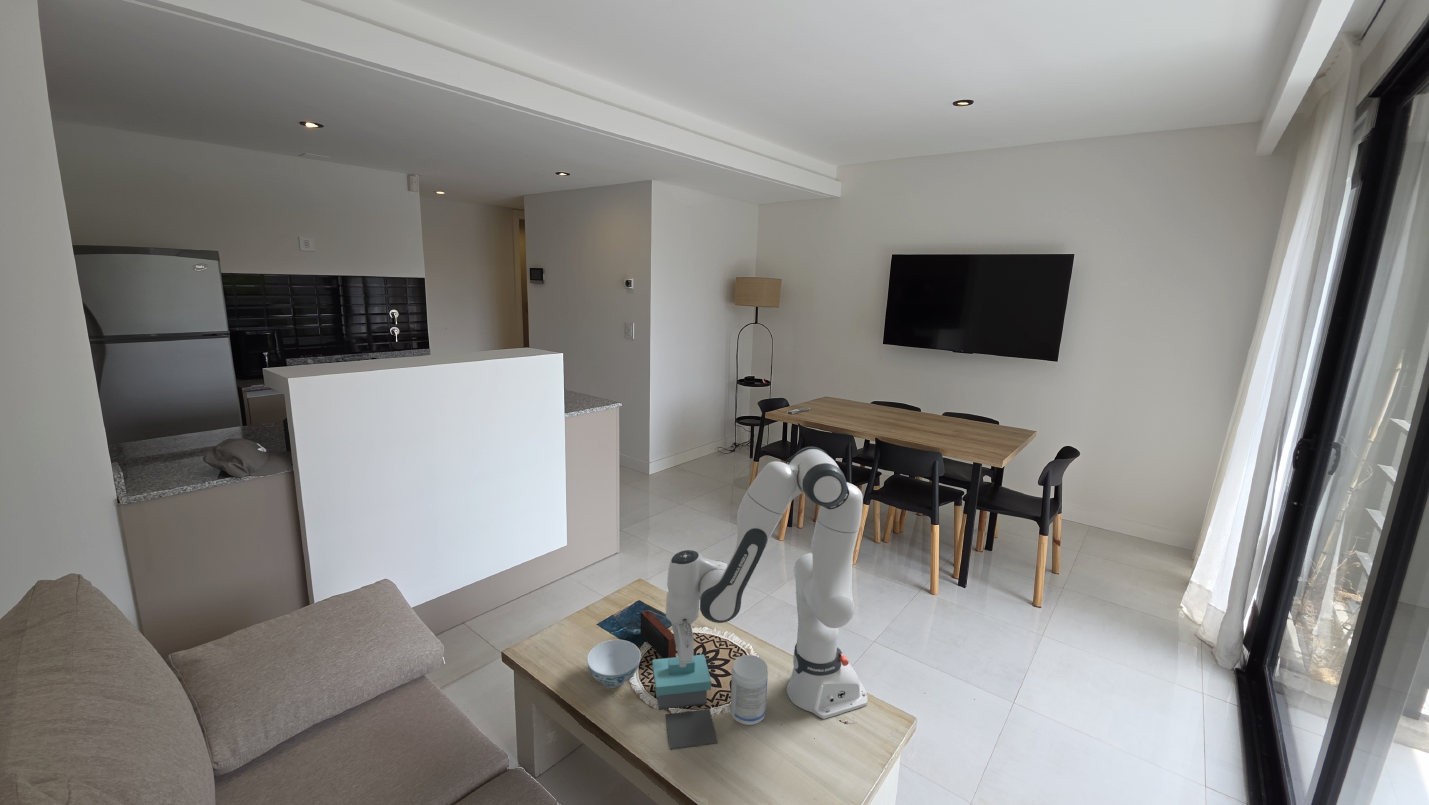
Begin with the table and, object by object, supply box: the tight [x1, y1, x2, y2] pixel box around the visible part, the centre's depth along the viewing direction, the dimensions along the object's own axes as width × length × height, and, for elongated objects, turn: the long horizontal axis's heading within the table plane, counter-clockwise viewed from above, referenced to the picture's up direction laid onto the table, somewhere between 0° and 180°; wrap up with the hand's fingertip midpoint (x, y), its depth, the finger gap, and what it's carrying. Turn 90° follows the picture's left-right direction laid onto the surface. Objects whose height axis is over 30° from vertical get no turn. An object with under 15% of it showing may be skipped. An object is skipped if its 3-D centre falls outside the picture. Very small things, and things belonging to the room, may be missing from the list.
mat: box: [665, 708, 719, 750], centre depth 147 cm, size 12×11×1 cm
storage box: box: [656, 690, 708, 711], centre depth 158 cm, size 13×9×7 cm
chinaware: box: [586, 639, 642, 689], centre depth 163 cm, size 15×15×8 cm
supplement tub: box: [729, 654, 769, 726], centre depth 152 cm, size 10×10×15 cm
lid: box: [651, 654, 712, 697], centre depth 157 cm, size 15×11×6 cm
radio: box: [640, 609, 677, 659], centre depth 175 cm, size 19×3×15 cm, turn 37°
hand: (679, 653), depth 155 cm, fingers open, 8 cm apart
